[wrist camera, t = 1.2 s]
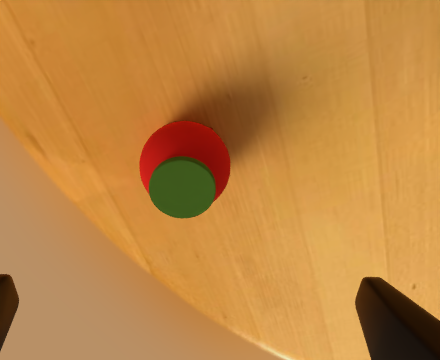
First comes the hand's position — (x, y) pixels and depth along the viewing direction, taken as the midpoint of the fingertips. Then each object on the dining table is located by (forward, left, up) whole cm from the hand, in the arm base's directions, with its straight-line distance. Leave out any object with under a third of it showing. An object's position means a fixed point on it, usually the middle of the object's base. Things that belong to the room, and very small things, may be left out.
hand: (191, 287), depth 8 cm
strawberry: (0, +1, -9) cm, 9 cm away
